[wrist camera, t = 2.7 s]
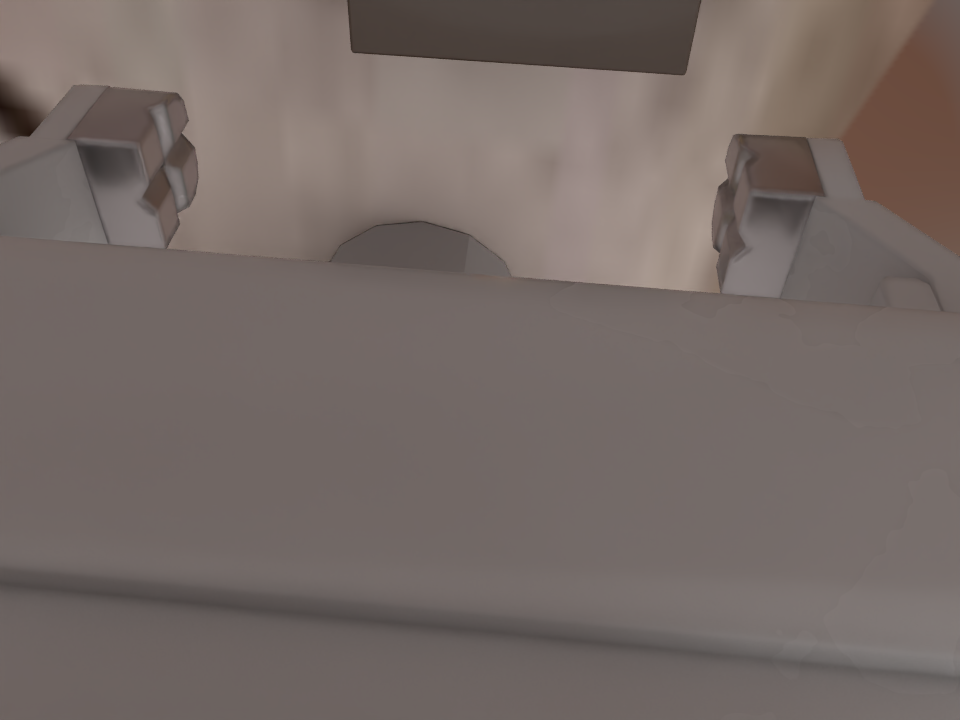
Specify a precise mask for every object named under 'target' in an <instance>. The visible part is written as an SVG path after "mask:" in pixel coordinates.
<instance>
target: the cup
mask: <svg viewBox="0 0 960 720" xmlns="http://www.w3.org/2000/svg"><path fill="white" fill-rule="evenodd" d="M331 262H335V263H347V264H359V265H372V266H384V267H396V268H409V269H421V270H434V271H446V272H458V273H471V274H483V275H495V276H508V277H511V275H510V273H509V271H508V269H507V267H506V265H505V262H503V261H502V260H501V259H500V258H498V257H497V256H496V255H494V254H493V253H492V252H491V251H489V250H488V249H487V248H485V247H484V246H483V245H481V244H480V243H479V242H478V241H476V240H475V239H474V238H472V237H471V236H470V235H467V234H464V233H460V232H457V231H453V230H450V229H446V228H443V227H439V226H436V225H432V224H429V223H425V222H415V223H403V224H391V225H379V226H375V227H373V228H371V229H369V230H368V231H366V232H364V233H362V234H360V235H359V236H357V237H355V238H353V239H351V240H349V241H348V242H346V243H344V244H342V245H340V247H339V248H338V250H337V252H336V254H335V255H334V257H333V259H332V260H331Z"/></svg>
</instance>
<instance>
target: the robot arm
mask: <svg viewBox="0 0 960 720" xmlns="http://www.w3.org/2000/svg"><path fill="white" fill-rule="evenodd" d="M188 121H189V120H188V116H187V112H186V108H185V104H184V100H183V99H182V98H181V97H180V96H179V94H178V93H174V92H163V91H152V90H141V89H131V88H120V87H110V86H101V85H74V86H73V87H72V88H71V89H70V90H69V91H68V93H67V94H66V95H65V96H64V97H63V98H62V100H61V101H60V102H59V103H58V104H57V105H56V107H55V108H54V109H53V110H52V111H51V112H50V114H49V115H48V116H47V117H46V118H45V119H44V121H43V122H42V123H41V124H40V125H39V126H38V128H37V129H36V130H35V131H34V132H33V134H32V135H31V136H30V137H22V136H19V137H16V138H14V139H11V140H9V141H6V142H4V143H1V144H0V720H960V257H959V256H958V255H957V254H955V253H953V252H952V251H950V250H949V249H947V248H946V247H944V246H943V245H941V244H940V243H938V242H937V241H935V240H934V239H932V238H931V237H929V236H927V235H926V234H925V233H923V232H922V231H920V230H919V229H917V228H915V227H914V226H912V225H911V224H909V223H907V222H906V221H905V220H903V219H902V218H900V217H899V216H897V215H896V214H894V213H893V212H891V211H890V210H888V209H887V208H885V207H884V206H882V205H880V204H879V203H877V202H876V201H868V200H865V199H864V196H863V194H862V191H861V188H860V186H859V183H858V180H857V178H856V175H855V173H854V170H853V167H852V165H851V162H850V159H849V157H848V154H847V152H846V149H845V146H844V144H843V142H842V141H841V140H839V139H829V138H806V137H789V136H768V135H747V134H736V135H733V137H732V140H731V142H730V145H729V148H728V152H727V155H726V159H725V163H726V168H727V174H728V179H727V180H726V181H724V182H723V183H722V184H721V185H720V186H719V187H718V191H717V195H716V200H715V204H714V211H713V218H712V241H713V248H714V249H716V250H717V251H718V252H719V253H720V254H719V258H718V262H717V266H716V268H717V274H718V280H719V286H720V292H721V294H720V293H708V292H695V291H683V290H670V289H658V288H645V287H633V286H620V285H608V284H595V283H583V282H570V281H558V280H545V279H533V278H520V277H508V276H495V275H483V274H471V273H458V272H446V271H434V270H421V269H409V268H396V267H384V266H372V265H359V264H347V263H335V262H322V261H310V260H298V259H285V258H273V257H261V256H248V255H236V254H224V253H211V252H199V251H187V250H174V249H166V248H167V247H168V245H169V243H170V241H171V239H172V238H173V236H174V234H175V232H176V230H177V229H178V227H179V225H180V222H179V218H178V214H177V213H179V212H180V211H182V210H184V209H186V208H188V207H190V205H191V203H192V201H193V199H194V197H195V194H196V189H197V183H198V161H197V156H196V152H195V147H194V146H193V145H192V144H191V143H190V142H189V141H188V140H187V138H186V137H185V136H184V135H183V134H182V131H183V130H184V128H185V126H186V125H187V123H188Z"/></svg>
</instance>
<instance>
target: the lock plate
mask: <svg viewBox="0 0 960 720" xmlns="http://www.w3.org/2000/svg"><path fill="white" fill-rule="evenodd" d="M347 1H348V15H349V28H350V42H351V50H352V52H353V53H364V54H379V55H394V56H408V57H423V58H438V59H452V60H467V61H481V62H496V63H511V64H525V65H540V66H555V67H569V68H584V69H599V70H613V71H628V72H643V73H657V74H672V75H685V73H686V71H687V66H688V61H689V56H690V51H691V47H692V42H693V37H694V32H695V27H696V23H697V18H698V13H699V8H700V4H701V0H347Z"/></svg>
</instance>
